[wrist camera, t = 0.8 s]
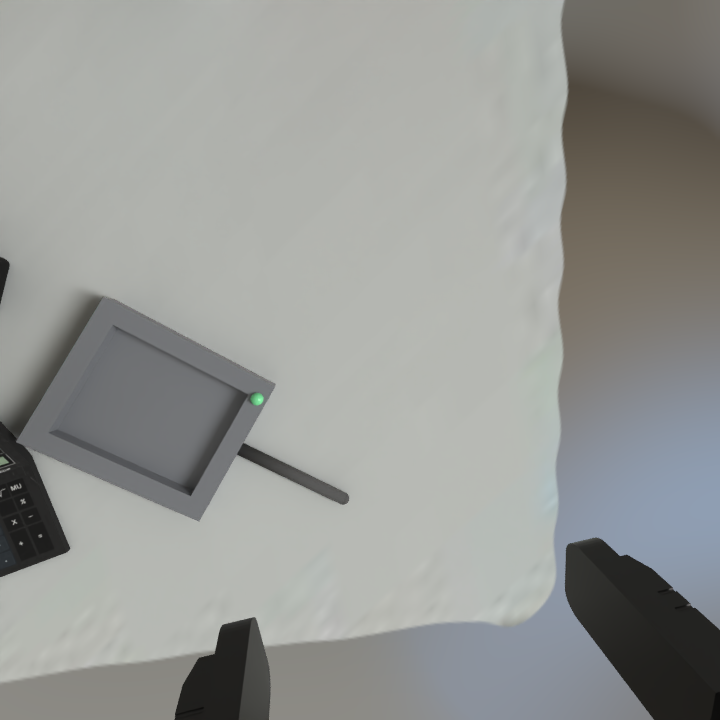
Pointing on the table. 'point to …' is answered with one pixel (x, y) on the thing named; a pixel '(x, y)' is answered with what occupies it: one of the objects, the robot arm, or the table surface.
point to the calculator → (25, 511)
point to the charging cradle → (153, 413)
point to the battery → (3, 274)
